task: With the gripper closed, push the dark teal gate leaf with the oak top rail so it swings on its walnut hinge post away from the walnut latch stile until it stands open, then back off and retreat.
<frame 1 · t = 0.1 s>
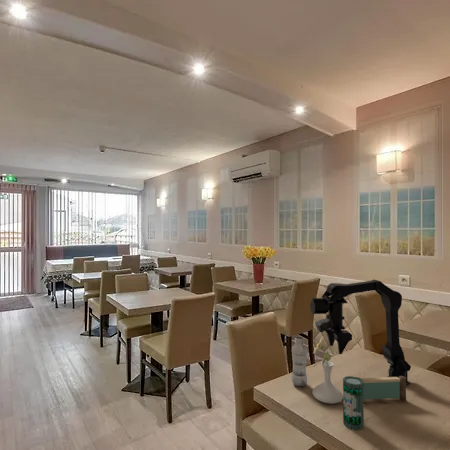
hand: (335, 349, 136), 15 cm above the table, fingers open, 9 cm apart
can: (353, 425, 108), on the table
flower in vase: (326, 400, 123), on the table
gate leaf: (380, 388, 122), point 5 cm above the table, hinge at 0.0°
plastic bottle: (299, 385, 135), on the table
gate frame: (402, 400, 122), on the table
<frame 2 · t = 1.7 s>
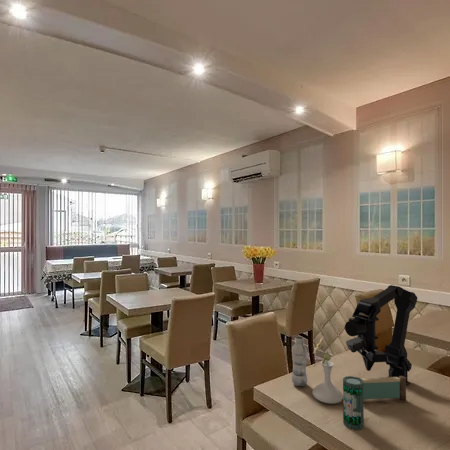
hand: (368, 370, 129), 9 cm above the table, fingers closed
nothing on the table moved.
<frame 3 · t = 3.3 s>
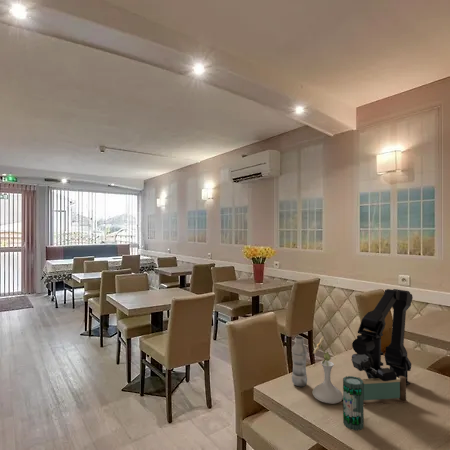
hand: (372, 387, 125), 4 cm above the table, fingers closed
gate leaf: (381, 388, 121), point 5 cm above the table, hinge at 2.6°, touching gripper
everything else where it was.
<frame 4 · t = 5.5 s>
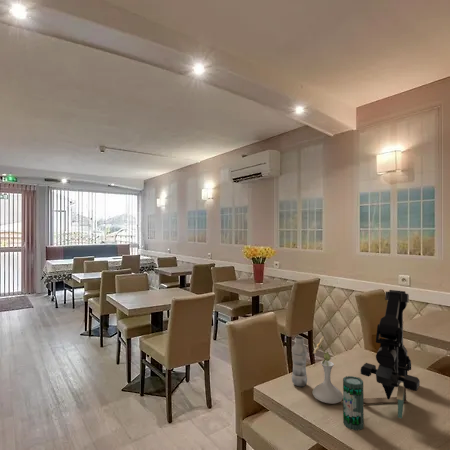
hand: (388, 398, 117), 4 cm above the table, fingers closed
gate leaf: (401, 397, 115), point 5 cm above the table, hinge at 54.0°, touching gripper
everything else where it was.
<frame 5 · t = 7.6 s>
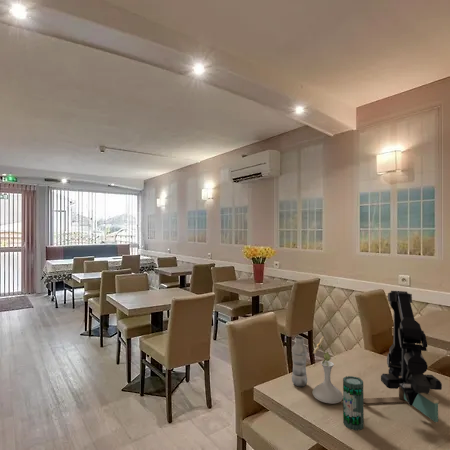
hand: (410, 405, 113), 4 cm above the table, fingers closed
gate leaf: (419, 399, 114), point 5 cm above the table, hinge at 95.2°, touching gripper
everything else where it was.
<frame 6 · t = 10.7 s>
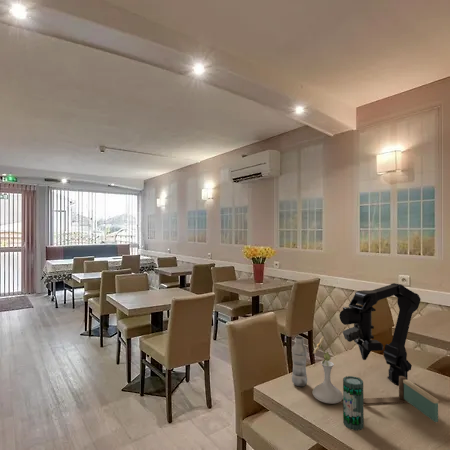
hand: (364, 359, 132), 12 cm above the table, fingers closed
gate leaf: (419, 399, 114), point 5 cm above the table, hinge at 95.2°
everything else where it was.
at the end: gate leaf at +95° (first picture: +0°); can tilted 0° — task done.
